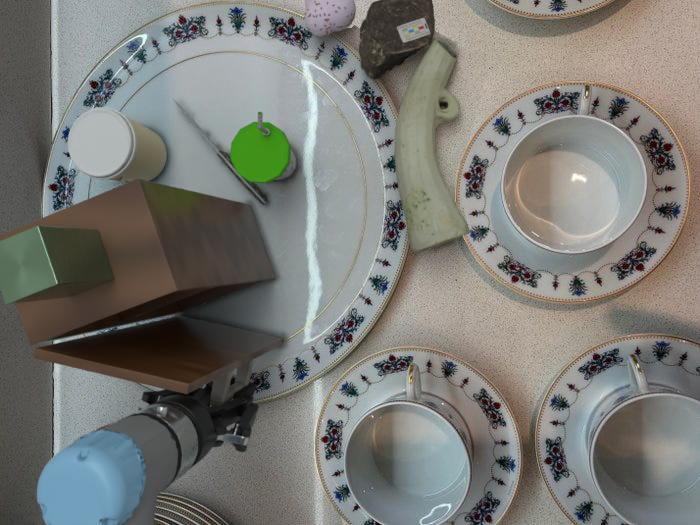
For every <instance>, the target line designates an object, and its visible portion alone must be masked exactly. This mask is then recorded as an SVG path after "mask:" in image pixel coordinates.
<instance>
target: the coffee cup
mask: <svg viewBox="0 0 700 525" xmlns="http://www.w3.org/2000/svg"><path fill="white" fill-rule="evenodd" d="M67 136H68V137H67V150H68V154H69V157H70V159H71V161H72V163H73V164H74V166H75V167H76V168H77V170H79V172H81V173H82V174H83V175H85V176H86V177H89V178H91V179H94V180H100V181H101V180H102V181H105V180H107V181H108V180H110V181H119V182H120V181H121V182H131V181H133V180H136V179H142V180H146V181H152V180H154V179H155V178H156V177H158V176H159V175H160V174H161V173H162V172H163V170H164V168H165V166H166V163H167V159H168V158H167V156H168V152H167V146H166V144H165V142H164V141H163V139H162V138H161V137H160V136H159V135H158V134H157V132H154V131H153V130H151V129H150V128H148V127H146V126H144V125H143V124H141V123H139V122H138V121H135V120H134V119H132V118H130V117H128V116H126V115H125V114H124V113H122V112H120V111H118V110H117V109H114V108H112V107H106V106H100V107H99V106H98V107H94V108H91V109H88V110H87V111H85V112H83V113H82V114H81V115H79V116H78V117H77V118H76V119H75V120H74V122H73V123H72V125H71V127H70V130H69V132H68V135H67Z"/></svg>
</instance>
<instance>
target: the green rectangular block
mask: <svg viewBox="0 0 700 525" xmlns="http://www.w3.org/2000/svg"><path fill="white" fill-rule="evenodd" d="M112 280H114V276H113V273H112V270H111V267H110V264H109V261H108V258H107V255H106V253H105V250H104V247H103V244H102V241H101V238H100V235H99V232H98V230H97V229H81V228H66V227H50V226H36V227H33V228H31V229H28V230H26V231H23V232H21V233H19V234H16V235H14V236H11V237H9V238H6V239H4V240H2V241H0V293H1V296H2V298H3V301H4V304H5V305H13V304H16V303H22V302H31V301H40V300H49V299H58V298H66V297H71V296H74V295H76V294H79V293H81V292H84V291H87V290H89V289H92V288H94V287H97V286H99V285H102V284H105V283H107V282H110V281H112Z"/></svg>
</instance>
